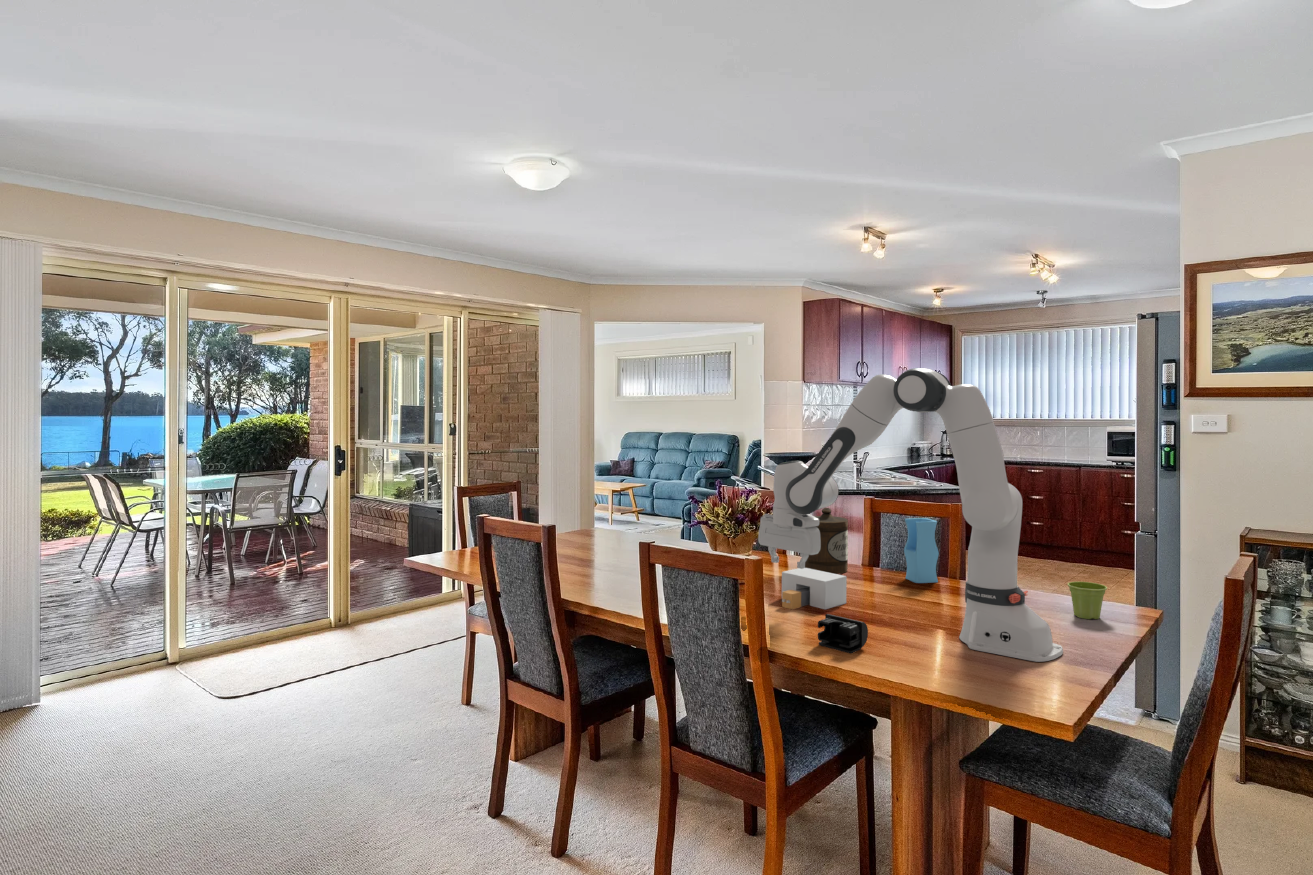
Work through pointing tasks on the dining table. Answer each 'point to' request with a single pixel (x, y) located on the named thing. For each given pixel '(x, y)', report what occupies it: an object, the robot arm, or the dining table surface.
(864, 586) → the dining table surface
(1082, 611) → the plant pot
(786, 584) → the block
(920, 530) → the vase
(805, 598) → the square rod
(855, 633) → the end cap
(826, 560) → the wooden container
